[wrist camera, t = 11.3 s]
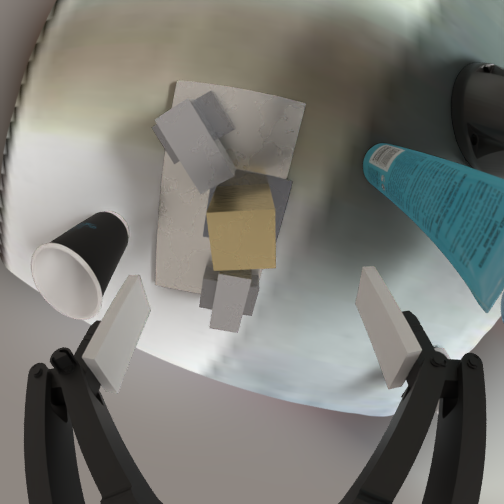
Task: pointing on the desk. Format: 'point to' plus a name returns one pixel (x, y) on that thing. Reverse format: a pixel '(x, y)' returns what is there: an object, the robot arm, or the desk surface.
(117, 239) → the dixie cup
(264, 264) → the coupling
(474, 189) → the tube
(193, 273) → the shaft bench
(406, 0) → the desk surface
